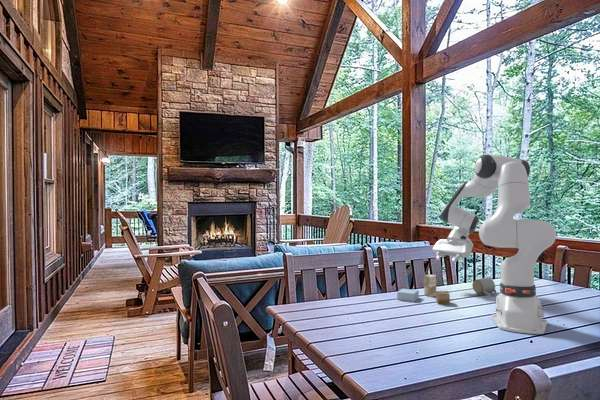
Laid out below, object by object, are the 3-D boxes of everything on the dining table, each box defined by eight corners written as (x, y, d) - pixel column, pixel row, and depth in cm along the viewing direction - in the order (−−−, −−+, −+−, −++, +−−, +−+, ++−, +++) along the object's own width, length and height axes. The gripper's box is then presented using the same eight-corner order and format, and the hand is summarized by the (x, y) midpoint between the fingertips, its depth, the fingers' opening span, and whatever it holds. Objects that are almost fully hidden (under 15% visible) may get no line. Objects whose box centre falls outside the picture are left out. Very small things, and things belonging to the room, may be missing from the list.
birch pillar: (436, 295, 185) (435, 275, 185) (431, 297, 183) (430, 276, 183) (429, 294, 188) (429, 274, 189) (424, 295, 186) (423, 275, 186)
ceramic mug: (471, 292, 190) (471, 277, 190) (483, 290, 193) (483, 275, 192) (488, 297, 180) (487, 281, 180) (501, 295, 183) (500, 280, 182)
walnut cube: (449, 304, 169) (449, 293, 169) (438, 304, 170) (437, 293, 170) (447, 301, 174) (447, 291, 174) (436, 301, 175) (436, 290, 175)
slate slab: (414, 302, 175) (414, 293, 175) (397, 300, 179) (397, 292, 180) (418, 298, 182) (418, 290, 182) (402, 296, 186) (402, 288, 186)
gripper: (436, 235, 206) (425, 254, 200) (471, 237, 189) (460, 259, 183) (442, 242, 208) (431, 262, 203) (476, 245, 191) (465, 267, 186)
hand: (445, 260), depth 193 cm, fingers open, 8 cm apart
